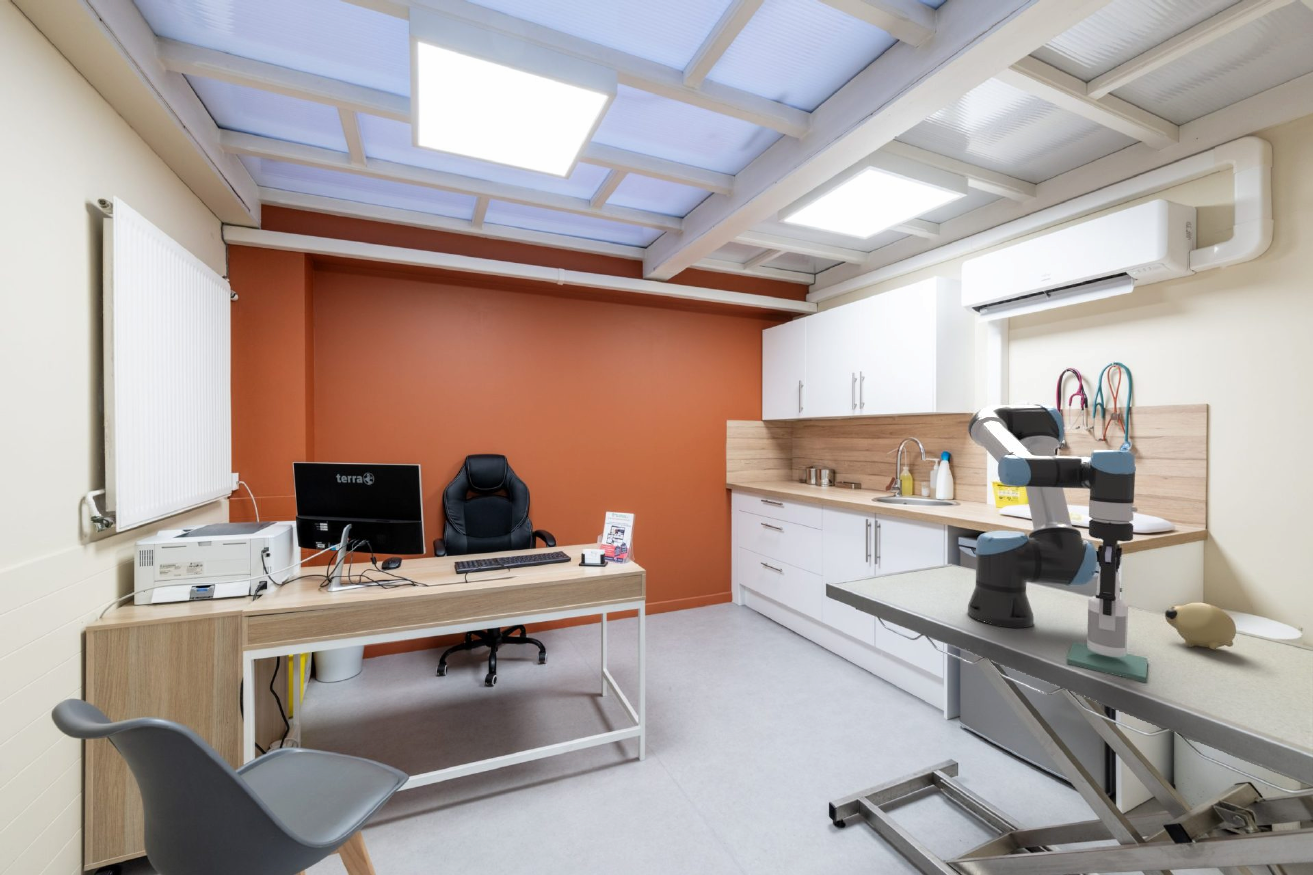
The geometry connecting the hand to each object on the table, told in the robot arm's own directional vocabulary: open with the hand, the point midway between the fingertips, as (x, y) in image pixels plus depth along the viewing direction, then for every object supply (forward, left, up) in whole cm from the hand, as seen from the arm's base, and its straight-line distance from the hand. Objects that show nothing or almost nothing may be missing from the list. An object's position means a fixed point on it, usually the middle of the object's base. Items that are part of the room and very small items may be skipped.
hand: (1108, 624), depth 121 cm
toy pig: (+16, +27, -9) cm, 33 cm away
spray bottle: (0, 0, -6) cm, 6 cm away
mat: (0, 0, -9) cm, 9 cm away
